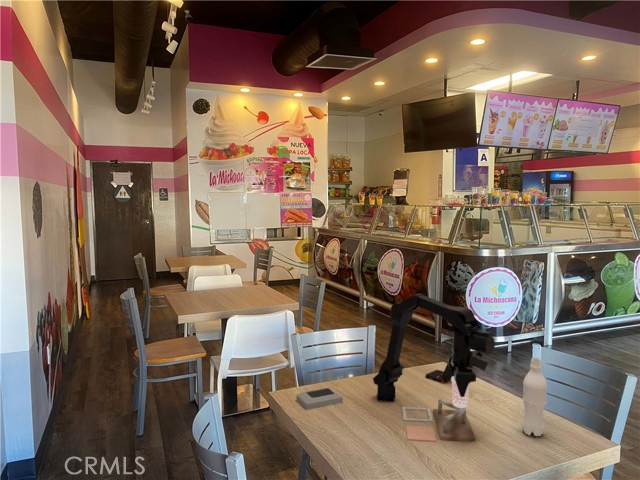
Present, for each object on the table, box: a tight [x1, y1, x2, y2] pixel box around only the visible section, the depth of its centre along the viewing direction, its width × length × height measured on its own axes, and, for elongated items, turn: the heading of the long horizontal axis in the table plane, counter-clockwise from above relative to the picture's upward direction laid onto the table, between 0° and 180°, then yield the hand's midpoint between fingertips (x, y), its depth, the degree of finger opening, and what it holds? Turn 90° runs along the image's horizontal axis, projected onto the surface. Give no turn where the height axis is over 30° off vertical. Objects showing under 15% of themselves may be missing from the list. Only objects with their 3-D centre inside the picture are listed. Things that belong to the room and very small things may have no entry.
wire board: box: [432, 398, 477, 443], centre depth 163 cm, size 11×20×6 cm, turn 173°
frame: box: [401, 406, 434, 423], centre depth 171 cm, size 10×10×1 cm
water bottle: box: [521, 357, 548, 437], centre depth 157 cm, size 7×7×25 cm
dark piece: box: [425, 363, 453, 384], centre depth 205 cm, size 9×12×10 cm
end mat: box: [405, 425, 437, 443], centre depth 158 cm, size 9×9×1 cm
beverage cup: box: [450, 376, 470, 409], centre depth 160 cm, size 6×6×14 cm
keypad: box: [296, 386, 344, 411], centre depth 183 cm, size 10×4×15 cm
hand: (460, 391), depth 160 cm, fingers closed on beverage cup, 7 cm apart
